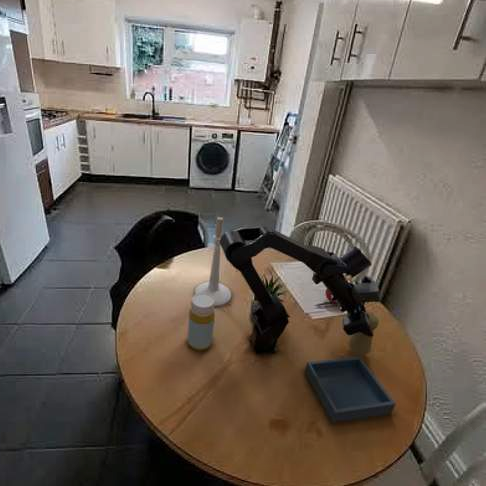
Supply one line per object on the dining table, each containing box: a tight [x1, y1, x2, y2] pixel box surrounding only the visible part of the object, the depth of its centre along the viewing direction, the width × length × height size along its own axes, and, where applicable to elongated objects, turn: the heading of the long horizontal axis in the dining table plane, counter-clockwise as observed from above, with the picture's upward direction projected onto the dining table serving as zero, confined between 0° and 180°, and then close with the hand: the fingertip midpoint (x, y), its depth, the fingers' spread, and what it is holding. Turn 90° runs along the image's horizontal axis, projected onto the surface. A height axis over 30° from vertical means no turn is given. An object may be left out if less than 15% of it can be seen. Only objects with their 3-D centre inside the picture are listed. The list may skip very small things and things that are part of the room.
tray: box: [304, 356, 396, 424], centre depth 77 cm, size 16×14×4 cm
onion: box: [325, 288, 337, 303], centre depth 109 cm, size 6×6×8 cm
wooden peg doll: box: [347, 311, 379, 355], centre depth 87 cm, size 6×6×11 cm
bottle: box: [187, 293, 216, 351], centre depth 86 cm, size 7×7×15 cm
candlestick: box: [194, 216, 232, 307], centre depth 104 cm, size 13×13×30 cm
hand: (370, 329), depth 86 cm, fingers closed on wooden peg doll, 5 cm apart
